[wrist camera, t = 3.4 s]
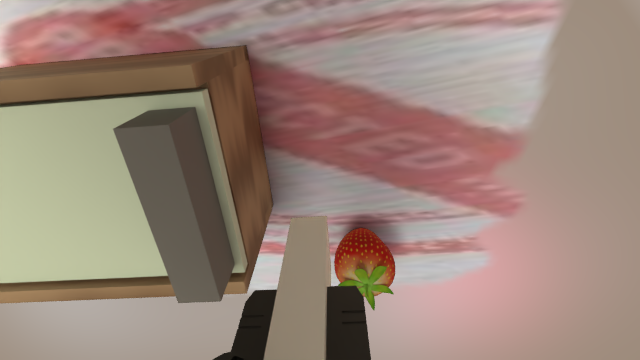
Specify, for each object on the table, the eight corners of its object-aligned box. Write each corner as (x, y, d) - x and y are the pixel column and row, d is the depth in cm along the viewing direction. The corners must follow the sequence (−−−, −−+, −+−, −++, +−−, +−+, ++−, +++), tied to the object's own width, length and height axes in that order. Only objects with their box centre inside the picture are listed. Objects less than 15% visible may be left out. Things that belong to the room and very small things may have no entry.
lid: (-120, 114, 18) (-226, 137, 14) (207, 88, 17) (175, 107, 13) (-8, 275, 23) (-67, 321, 19) (247, 263, 22) (232, 310, 18)
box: (21, 64, 26) (-171, 95, 16) (246, 45, 25) (190, 65, 15) (90, 215, 32) (-16, 303, 22) (273, 205, 31) (246, 293, 21)
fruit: (397, 232, 32) (417, 295, 25) (362, 264, 34) (370, 331, 27) (356, 202, 31) (364, 259, 23) (321, 237, 32) (319, 300, 25)
